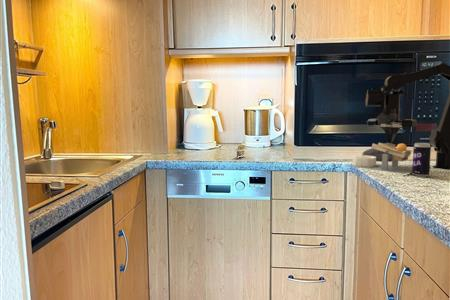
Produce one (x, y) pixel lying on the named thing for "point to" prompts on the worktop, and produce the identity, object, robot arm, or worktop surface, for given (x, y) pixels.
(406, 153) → the wooden tray
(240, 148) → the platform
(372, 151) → the perforated stone tool
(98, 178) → the worktop surface
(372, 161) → the beige round puck
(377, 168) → the launcher base
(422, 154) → the beverage can
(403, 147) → the ball
